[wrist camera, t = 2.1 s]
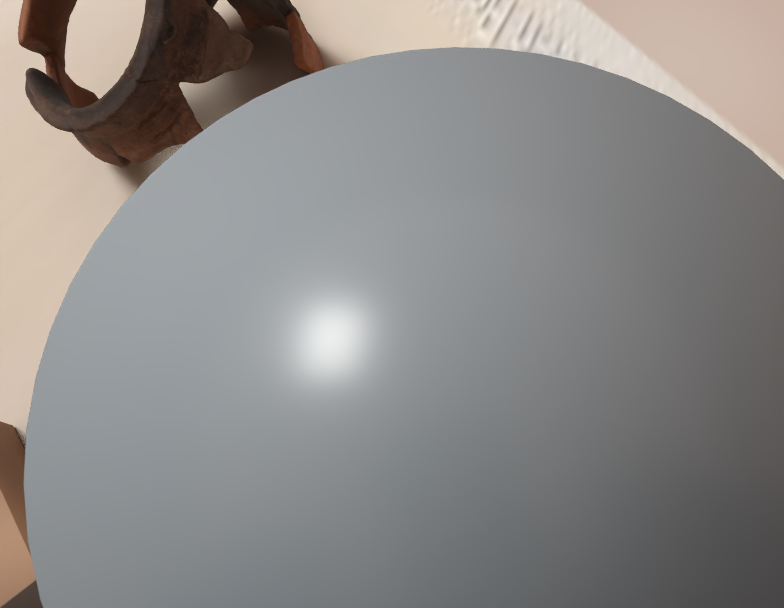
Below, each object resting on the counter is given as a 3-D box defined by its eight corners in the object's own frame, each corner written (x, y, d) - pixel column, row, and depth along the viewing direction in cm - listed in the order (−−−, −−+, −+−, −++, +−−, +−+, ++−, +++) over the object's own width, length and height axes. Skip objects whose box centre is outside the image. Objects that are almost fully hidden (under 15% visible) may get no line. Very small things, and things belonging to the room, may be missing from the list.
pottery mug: (370, 135, 23) (222, 47, 15) (206, 238, 26) (24, 208, 19) (280, -102, 25) (113, -278, 18) (140, 25, 29) (-45, -76, 21)
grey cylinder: (610, 528, 15) (1125, 390, 3) (442, 695, 14) (362, 1330, 2) (459, 367, 18) (460, -41, 6) (303, 499, 16) (-89, 321, 5)
